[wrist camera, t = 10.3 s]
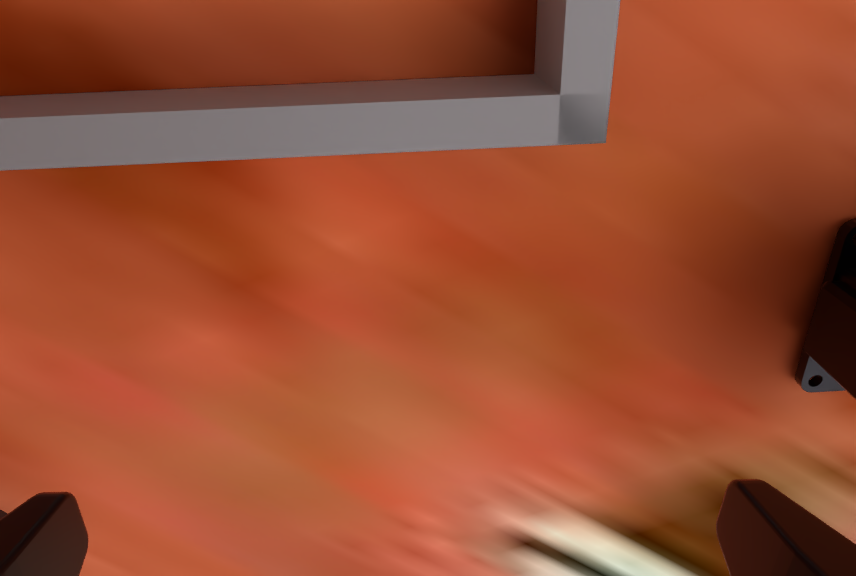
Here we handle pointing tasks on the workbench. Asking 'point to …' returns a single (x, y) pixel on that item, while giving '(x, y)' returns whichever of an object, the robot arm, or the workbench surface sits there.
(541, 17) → the l-shaped corner bracket
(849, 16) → the workbench surface
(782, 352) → the workbench surface
